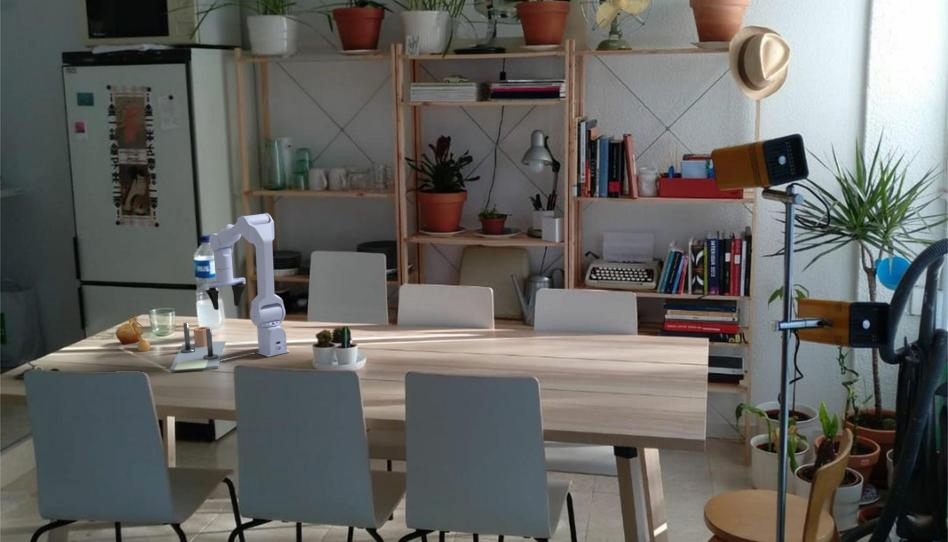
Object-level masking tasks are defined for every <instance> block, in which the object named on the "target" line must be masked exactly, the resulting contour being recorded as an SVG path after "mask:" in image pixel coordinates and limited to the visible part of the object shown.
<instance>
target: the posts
mask: <svg viewBox="0 0 948 542" xmlns="http://www.w3.org/2000/svg"><path fill="white" fill-rule="evenodd" d="M182 327H183V336H184V344H185V348H184V349H181V352H182V353H191V352H194V351H195V348H191V347H190V343H191V337H190V335H191V334H190V327H189V322H183V325H182ZM212 336H213V333H212V328H211V329H206V337H207V350H208V355H205V356H203V358H204V359H205V360H207V359H208V360H212V359H216V358H218V355H217V354H213V346H212V342H213V337H212Z"/></svg>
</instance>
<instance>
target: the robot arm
mask: <svg viewBox="0 0 948 542" xmlns="http://www.w3.org/2000/svg"><path fill="white" fill-rule="evenodd" d="M241 237H243V238H244V239H245V240H246V241H247V242H248V243H250V244H252V245H253V244H254V246H255V258H256V259H255V260H256V281H257V285H256V286H257V295H256V296H255V297H254V299H253V300H251V303H250V304H251V308H250V310H249V311H250V312H249V316H250V320H251V322H252V324H253V325H254V326H256V329H257V347H258V348H257V349H258V350H256V351H255V353H257V354H259V355H263V356H265V357H267V358H268V357H273V356H278V355H281V354H286V353H290V350H289V349H288V344H287V334H286V331H285V330H284V328H282V327H281V324H283V321H284V319H285V317H286V309H285V305H284V300H283V299H282V297H280V296H279V295H277V294H276V293H275V280H274V278H275V277H274V276H275V275H274V256H273V241H274V239H275V220H273V218H272V216H271V214H269V213H268V212H265V213H259V214H253V215H241V216H239V217H238V218H237V220H236V223H234V224H231V223H229V224H226V225H225V228H222V229H220V230H219V232H217V233H214V232H213V233H211V234H210V236H209V247H210V248H211V250H212V251H213V262H214V263H213V264H214V271H215V273H214V275H215V281H210V282H206V283H205V282H204V283H203V290H204V291H205V293H206V294H207V295H208V297H209V299H210V302H211V304H212V307H213V310H216V311H219V308H220V307H219V292H220V291H219V290H217V289H219V288H225V287H230V286H231V289H232V294H233V304H234V306H235V307H239V306H240V301H241V297H242V294H243V292H244V291H245V290H244V289H245V285H246V284H247V283H246V278H245V277H243V276H242V277H236V278H235V277H234V274H233V272H234V271H233V259H232V257H233V256H232V255H233V254H234V253H233V252H234V246H235V243H237V242H238V241H239V240H240V239H241Z"/></svg>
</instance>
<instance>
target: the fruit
mask: <svg viewBox="0 0 948 542" xmlns="http://www.w3.org/2000/svg"><path fill="white" fill-rule="evenodd" d="M137 327H138V328H139V329H140V330H141V331H142V328H140V327H141V326H140V325H138V324H137ZM132 328H133V327H132ZM133 330H134V329H133ZM134 332H135V331H134ZM138 335H139V334H137V333H135V334H133V331H132V330H131V328H130V323H129V322H126V323H123V324H122V325H120V326H119V327H118V328H117V329H116V332H115V336H116V338H117V340H118V341H119V342H120V344H121V345H123V346H126V345H128V344H136V343H137V344H138V343H139V342H140V341H139V339H138V337H137V336H138ZM140 337H141V338H142V335H141V336H140Z"/></svg>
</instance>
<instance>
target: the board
mask: <svg viewBox="0 0 948 542" xmlns="http://www.w3.org/2000/svg"><path fill="white" fill-rule="evenodd" d="M226 342H227V341H226V340H225V341H224V340H223V341H212V346H213V354H217V355H218V358H216V359H212V360H208V362H207V365H206V368H199V369H184V370H174V369H175V367H176V365H177V363H178V361H192V360H205V359H204V358H203V356H205V355H208V350H207V346H206V347H197V346H195V342H194V343H191V342H190V347H191V348H195V351H194V352H191V353H182V352H181V349H184V348H185V343H182V344H181V346H180V348H179V350H178V352H177V354H176V356H175V358H174V360H173V363H172V365H171V366H170V368H169V372H170V373H171V372H173V373H174V372H185V371H202V370H203V371H204V370H215V369H216V370H217V369H219V366H220V364H221V360H222V359H221V357H222V354H223V351H224V349H225V345H226Z"/></svg>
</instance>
